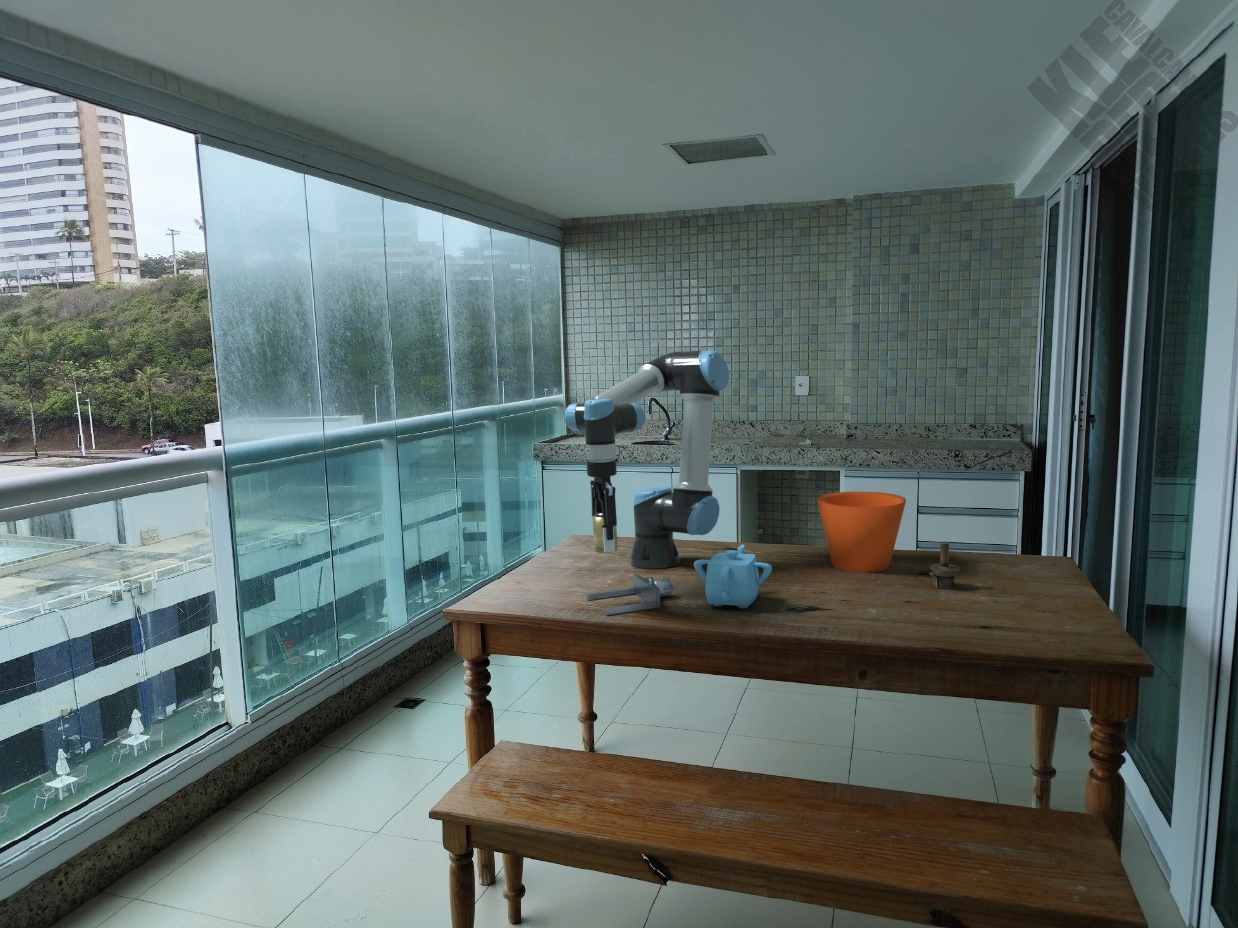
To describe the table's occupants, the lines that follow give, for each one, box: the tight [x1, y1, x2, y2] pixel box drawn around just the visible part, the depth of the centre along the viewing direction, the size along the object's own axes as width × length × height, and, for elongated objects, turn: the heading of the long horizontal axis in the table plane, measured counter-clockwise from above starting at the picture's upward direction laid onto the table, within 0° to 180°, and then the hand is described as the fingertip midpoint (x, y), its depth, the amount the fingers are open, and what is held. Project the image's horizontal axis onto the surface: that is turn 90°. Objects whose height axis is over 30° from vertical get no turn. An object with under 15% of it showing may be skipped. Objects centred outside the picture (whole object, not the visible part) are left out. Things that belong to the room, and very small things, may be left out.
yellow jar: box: [592, 511, 618, 554], centre depth 212 cm, size 6×6×10 cm
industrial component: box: [929, 541, 960, 590], centre depth 217 cm, size 9×7×12 cm
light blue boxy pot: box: [693, 544, 773, 609], centre depth 211 cm, size 18×16×14 cm
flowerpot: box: [816, 491, 907, 574], centre depth 241 cm, size 25×25×20 cm
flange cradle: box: [586, 573, 674, 616], centre depth 214 cm, size 21×15×6 cm
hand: (605, 548), depth 212 cm, fingers closed on yellow jar, 6 cm apart
